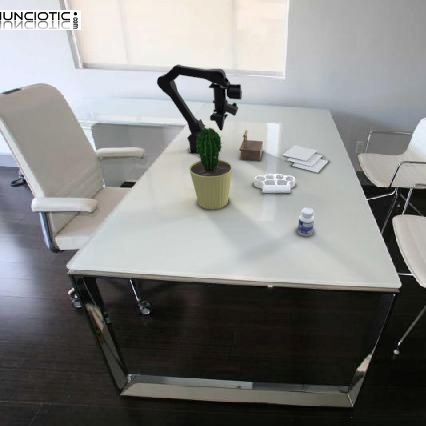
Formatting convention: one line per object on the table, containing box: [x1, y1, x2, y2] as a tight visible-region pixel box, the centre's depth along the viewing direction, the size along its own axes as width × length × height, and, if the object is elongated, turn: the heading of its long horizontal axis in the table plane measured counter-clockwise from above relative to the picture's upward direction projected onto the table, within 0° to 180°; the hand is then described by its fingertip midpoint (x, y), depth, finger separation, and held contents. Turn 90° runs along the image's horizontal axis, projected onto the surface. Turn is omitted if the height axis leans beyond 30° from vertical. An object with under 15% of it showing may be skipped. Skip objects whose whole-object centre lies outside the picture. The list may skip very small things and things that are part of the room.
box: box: [240, 143, 264, 162], centre depth 164 cm, size 10×14×5 cm
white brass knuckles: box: [253, 173, 296, 194], centre depth 137 cm, size 3×18×15 cm
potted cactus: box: [188, 127, 233, 210], centre depth 115 cm, size 15×15×30 cm
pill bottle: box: [297, 207, 315, 237], centre depth 109 cm, size 5×5×9 cm
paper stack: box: [282, 145, 329, 173], centre depth 165 cm, size 23×25×1 cm
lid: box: [238, 129, 264, 152], centre depth 160 cm, size 10×14×7 cm
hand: (221, 130), depth 158 cm, fingers closed
